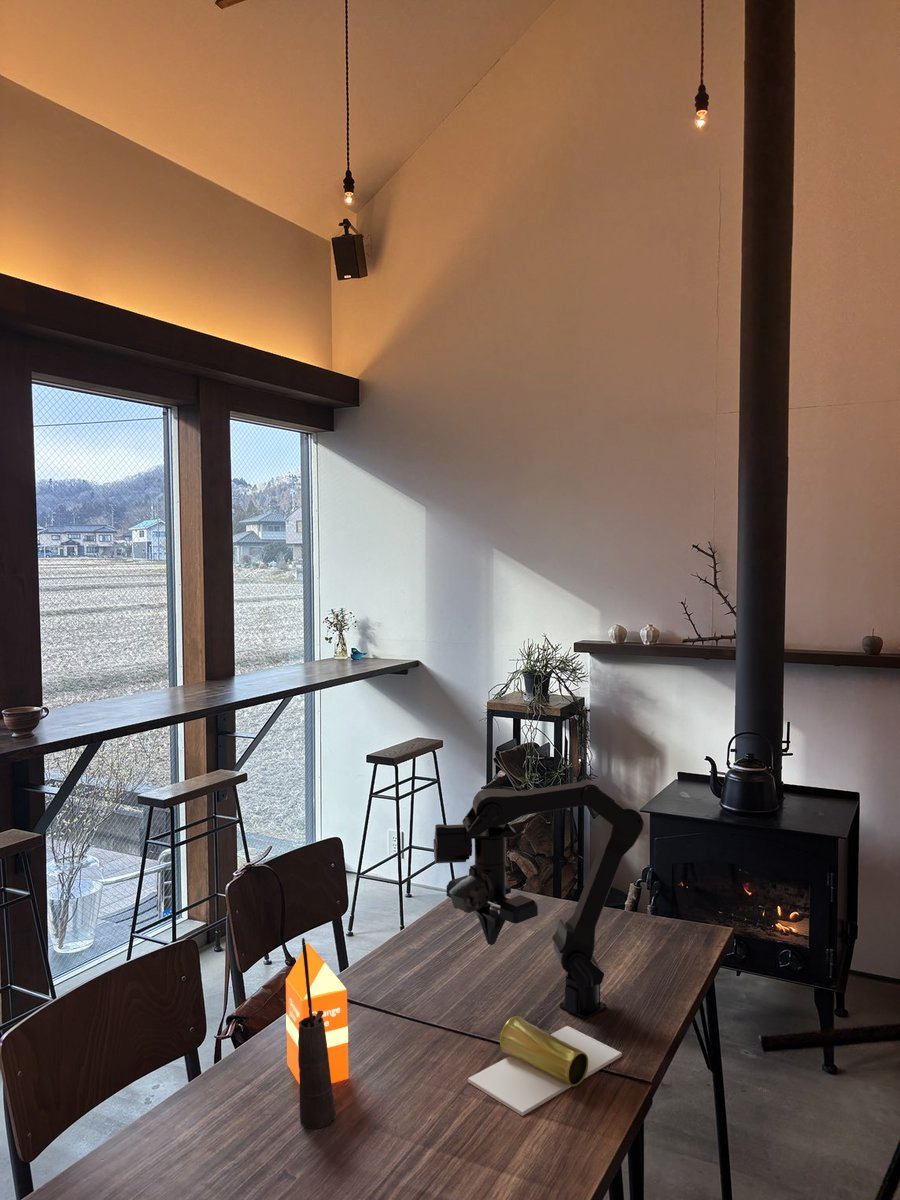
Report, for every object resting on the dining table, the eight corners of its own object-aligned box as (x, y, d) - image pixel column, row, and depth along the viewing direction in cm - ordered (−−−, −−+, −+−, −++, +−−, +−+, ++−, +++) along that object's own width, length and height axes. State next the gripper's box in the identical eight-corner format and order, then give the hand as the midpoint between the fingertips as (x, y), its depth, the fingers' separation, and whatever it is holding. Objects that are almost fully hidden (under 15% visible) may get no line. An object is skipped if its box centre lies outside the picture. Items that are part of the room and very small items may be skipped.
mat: (567, 1029, 158) (567, 1025, 158) (621, 1056, 149) (621, 1052, 149) (467, 1082, 142) (467, 1078, 142) (522, 1116, 133) (522, 1112, 133)
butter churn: (321, 1088, 141) (318, 914, 140) (364, 1111, 135) (361, 929, 134) (276, 1116, 134) (272, 933, 133) (319, 1142, 128) (315, 950, 127)
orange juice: (303, 1091, 140) (300, 967, 139) (286, 1064, 148) (284, 946, 147) (349, 1078, 143) (347, 956, 143) (331, 1052, 151) (329, 936, 151)
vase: (528, 1023, 153) (595, 1057, 143) (512, 1058, 150) (579, 1095, 140) (510, 1009, 150) (577, 1043, 139) (493, 1045, 147) (560, 1082, 137)
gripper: (423, 858, 164) (425, 941, 165) (494, 884, 150) (495, 975, 151) (468, 845, 172) (469, 924, 172) (539, 868, 158) (540, 955, 158)
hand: (491, 944), depth 163 cm, fingers closed
